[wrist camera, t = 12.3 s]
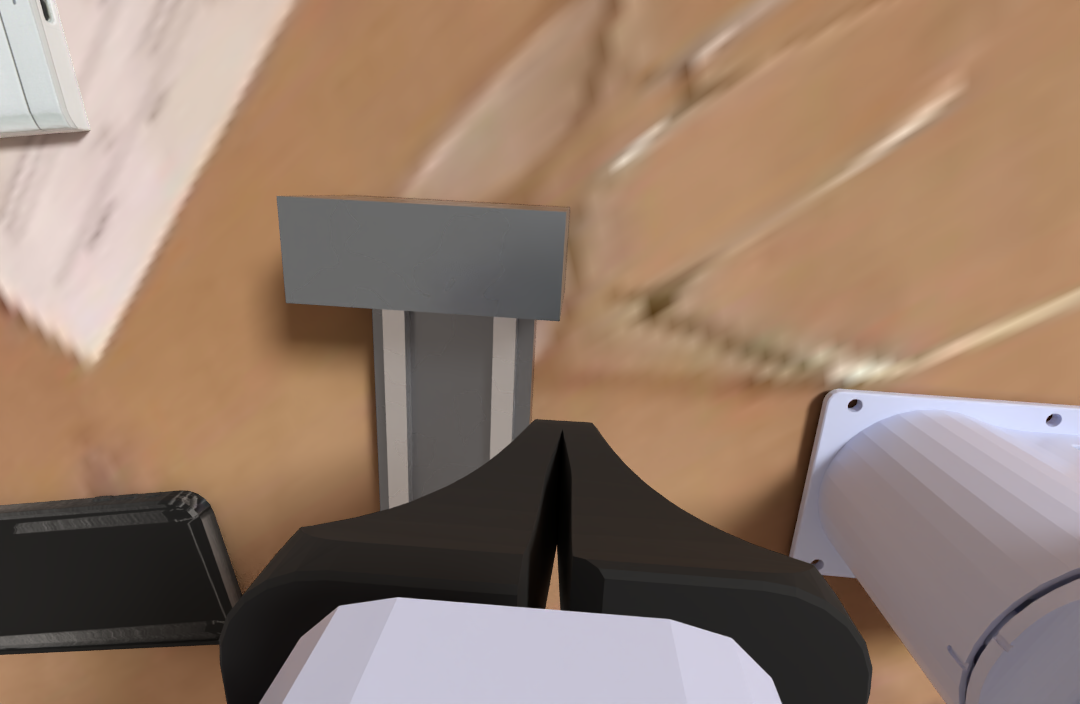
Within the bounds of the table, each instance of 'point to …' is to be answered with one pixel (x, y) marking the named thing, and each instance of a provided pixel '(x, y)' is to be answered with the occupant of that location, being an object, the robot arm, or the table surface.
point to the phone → (113, 574)
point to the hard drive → (37, 72)
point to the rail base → (434, 317)
